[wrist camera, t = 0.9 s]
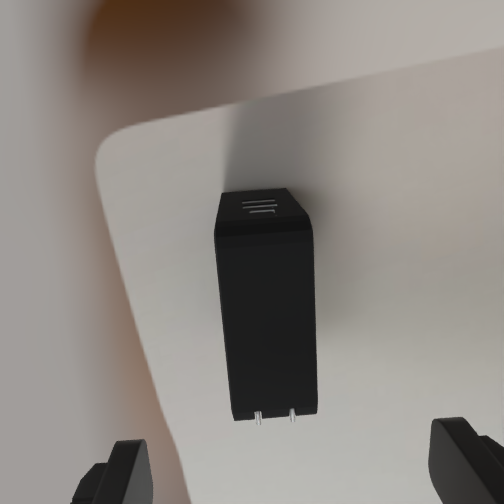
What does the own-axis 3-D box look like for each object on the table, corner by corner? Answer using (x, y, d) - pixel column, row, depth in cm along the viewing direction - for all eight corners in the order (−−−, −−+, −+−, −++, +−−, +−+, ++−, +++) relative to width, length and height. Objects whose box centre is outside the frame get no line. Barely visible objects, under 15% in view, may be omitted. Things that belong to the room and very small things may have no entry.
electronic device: (285, 185, 26) (314, 219, 17) (292, 325, 29) (319, 422, 20) (220, 190, 26) (212, 227, 17) (233, 330, 29) (232, 430, 19)
